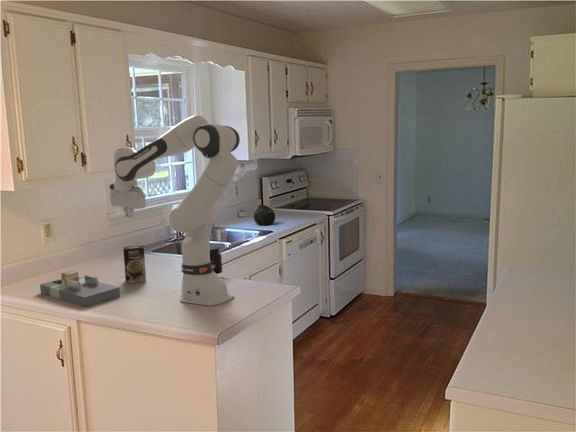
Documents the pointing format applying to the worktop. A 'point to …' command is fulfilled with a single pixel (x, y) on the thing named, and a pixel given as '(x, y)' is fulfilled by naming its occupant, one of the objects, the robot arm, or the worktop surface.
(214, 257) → the supplement bottle
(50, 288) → the tunnel deck
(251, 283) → the worktop surface
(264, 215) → the squash
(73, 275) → the maple block
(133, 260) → the coffee box
